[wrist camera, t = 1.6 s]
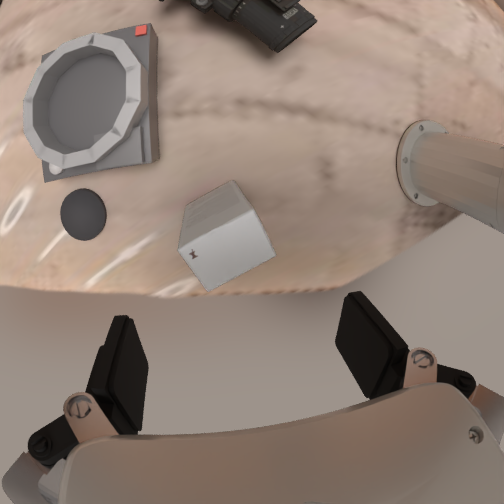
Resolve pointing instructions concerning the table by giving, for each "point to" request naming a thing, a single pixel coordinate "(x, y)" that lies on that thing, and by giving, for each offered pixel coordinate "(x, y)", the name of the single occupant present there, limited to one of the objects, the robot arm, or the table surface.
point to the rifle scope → (264, 18)
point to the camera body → (95, 103)
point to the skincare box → (223, 236)
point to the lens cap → (83, 214)
